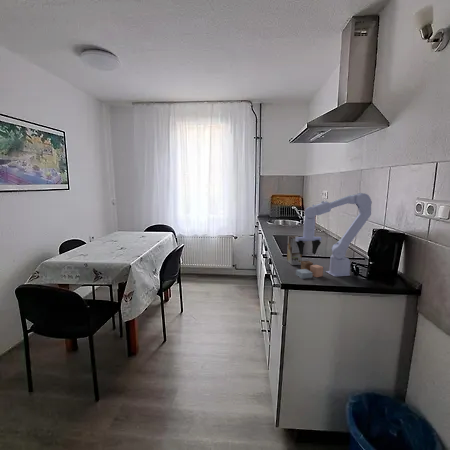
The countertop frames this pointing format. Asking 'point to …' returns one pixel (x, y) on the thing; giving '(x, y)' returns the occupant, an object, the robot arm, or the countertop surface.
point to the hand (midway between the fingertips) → (307, 254)
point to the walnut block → (306, 265)
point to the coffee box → (293, 251)
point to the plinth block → (304, 273)
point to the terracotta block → (316, 270)
